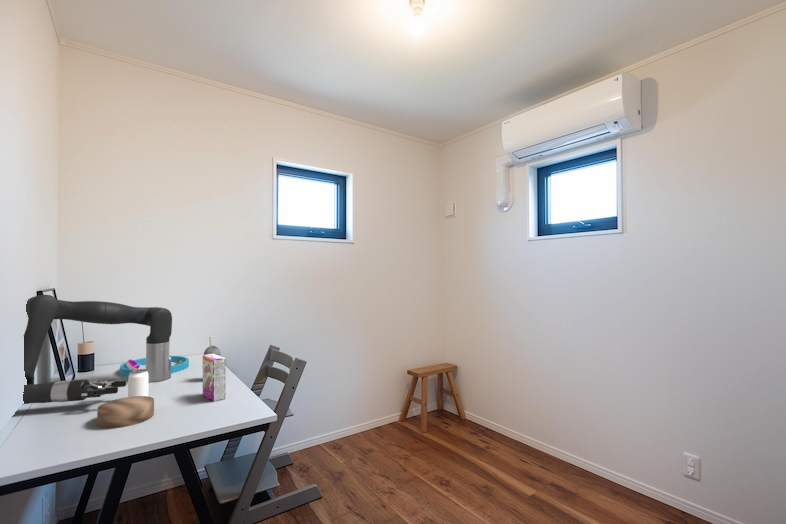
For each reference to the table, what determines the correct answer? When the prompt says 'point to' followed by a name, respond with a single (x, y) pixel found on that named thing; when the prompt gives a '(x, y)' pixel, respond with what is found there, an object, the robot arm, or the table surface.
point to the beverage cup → (212, 350)
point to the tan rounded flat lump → (125, 411)
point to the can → (138, 383)
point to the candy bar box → (214, 377)
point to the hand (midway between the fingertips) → (121, 386)
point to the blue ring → (135, 364)
